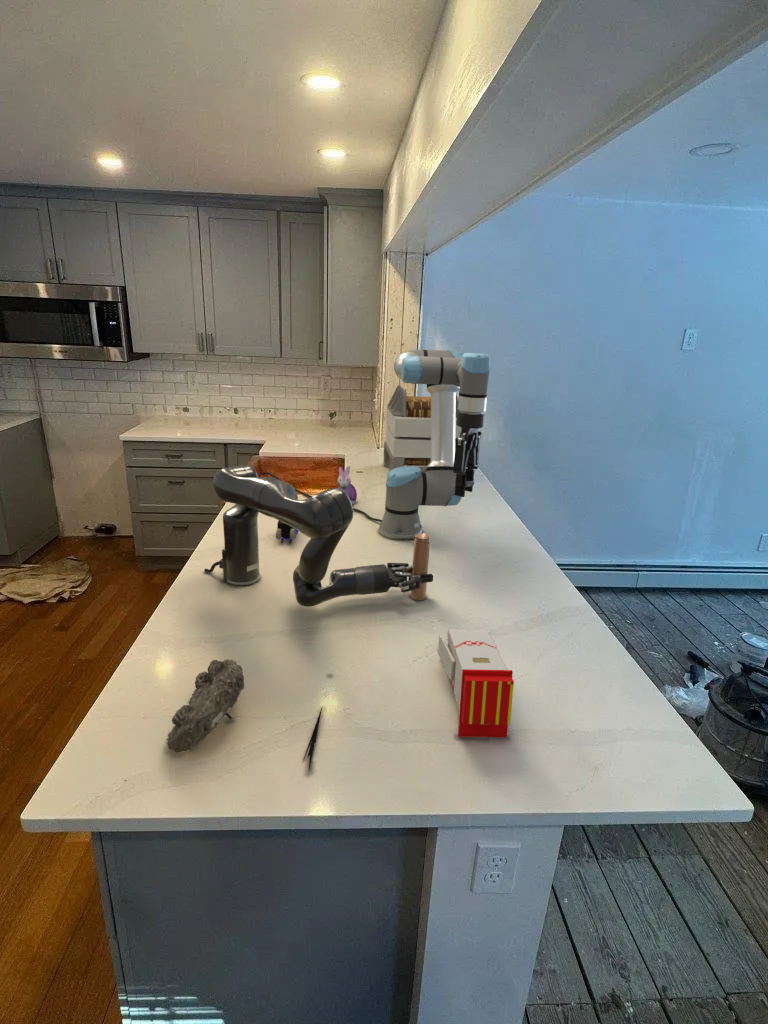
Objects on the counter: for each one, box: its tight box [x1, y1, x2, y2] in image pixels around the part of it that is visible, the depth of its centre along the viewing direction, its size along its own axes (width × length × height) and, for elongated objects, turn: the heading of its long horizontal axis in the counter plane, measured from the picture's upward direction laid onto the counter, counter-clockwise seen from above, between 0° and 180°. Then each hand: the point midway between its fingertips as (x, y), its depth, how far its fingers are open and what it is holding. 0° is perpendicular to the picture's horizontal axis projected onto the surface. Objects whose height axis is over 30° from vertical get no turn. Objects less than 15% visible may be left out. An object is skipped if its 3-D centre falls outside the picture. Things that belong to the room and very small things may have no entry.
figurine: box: [336, 465, 358, 505], centre depth 226 cm, size 9×10×15 cm
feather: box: [301, 673, 332, 771], centre depth 108 cm, size 2×28×2 cm
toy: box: [437, 628, 515, 738], centre depth 117 cm, size 12×13×30 cm
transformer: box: [383, 384, 461, 471], centre depth 268 cm, size 34×33×41 cm
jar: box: [409, 533, 431, 601], centre depth 154 cm, size 4×4×18 cm
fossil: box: [166, 658, 245, 754], centre depth 106 cm, size 22×10×15 cm
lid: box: [455, 477, 475, 487], centre depth 161 cm, size 5×5×2 cm
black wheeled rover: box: [275, 520, 299, 544], centre depth 191 cm, size 7×8×15 cm
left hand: (428, 573), depth 156 cm, fingers closed on jar, 4 cm apart
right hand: (463, 493), depth 162 cm, fingers closed on lid, 5 cm apart
